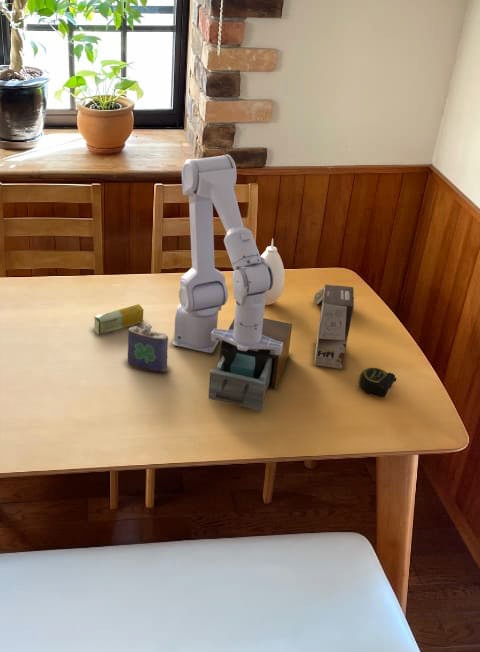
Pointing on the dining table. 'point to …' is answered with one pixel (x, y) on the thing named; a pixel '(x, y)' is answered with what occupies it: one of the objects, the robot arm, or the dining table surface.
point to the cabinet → (278, 333)
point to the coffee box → (334, 325)
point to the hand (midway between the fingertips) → (243, 374)
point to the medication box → (118, 319)
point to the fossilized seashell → (319, 297)
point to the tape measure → (376, 381)
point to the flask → (147, 349)
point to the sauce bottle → (274, 274)
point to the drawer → (240, 385)
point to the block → (243, 365)
